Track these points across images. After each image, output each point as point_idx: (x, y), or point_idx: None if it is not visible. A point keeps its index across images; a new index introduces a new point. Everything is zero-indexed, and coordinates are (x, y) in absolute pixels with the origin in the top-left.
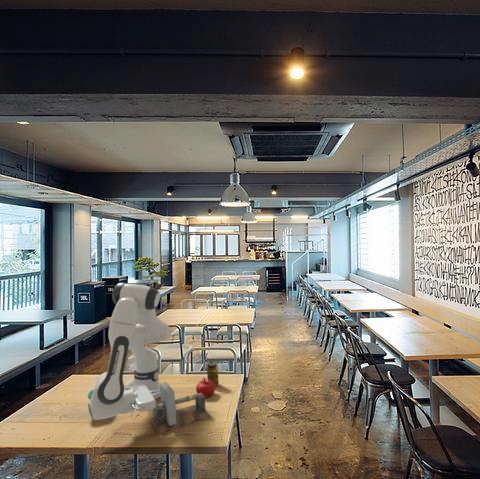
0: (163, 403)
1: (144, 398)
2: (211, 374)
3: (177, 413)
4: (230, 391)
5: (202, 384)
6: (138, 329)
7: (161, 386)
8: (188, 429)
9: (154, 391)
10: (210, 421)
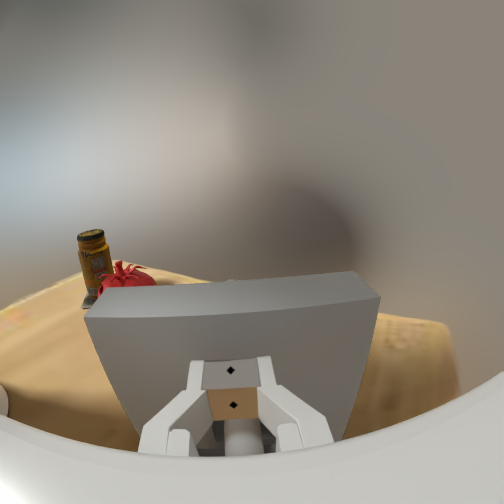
0: (243, 424)
1: (498, 496)
2: (102, 259)
3: None
4: (168, 281)
5: (125, 283)
6: None
7: (136, 328)
8: (356, 397)
9: (192, 407)
10: None
